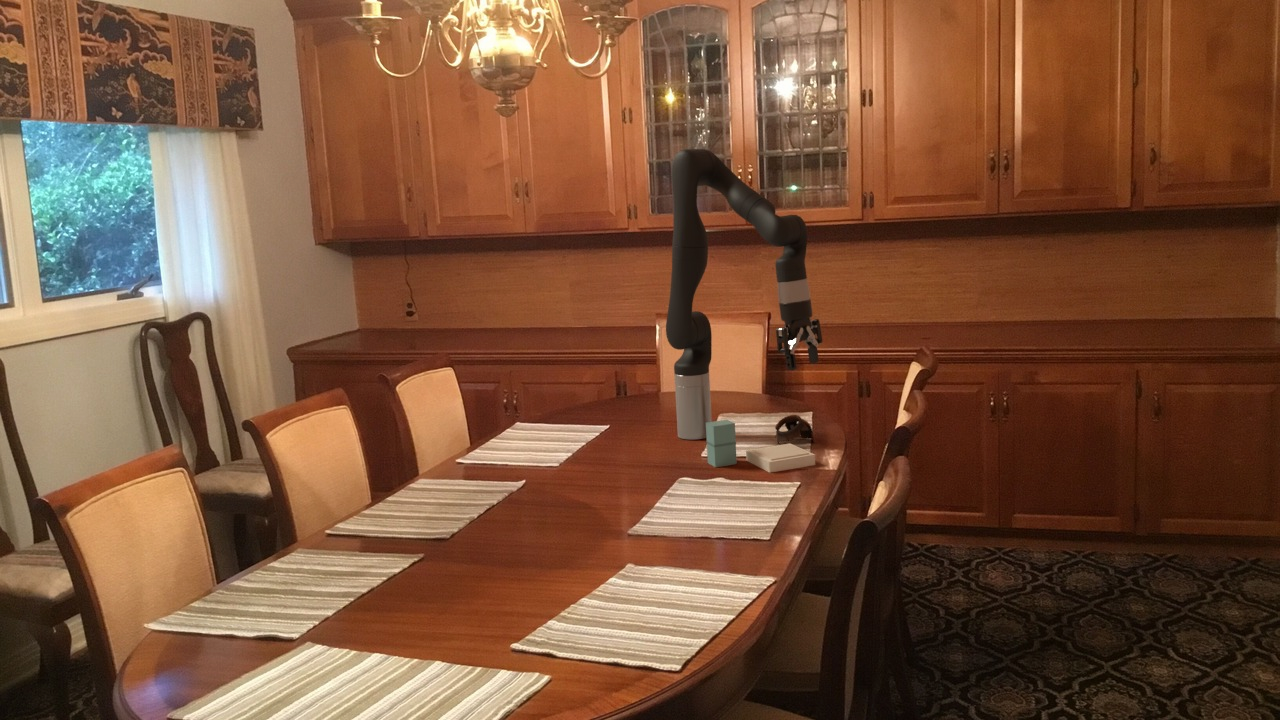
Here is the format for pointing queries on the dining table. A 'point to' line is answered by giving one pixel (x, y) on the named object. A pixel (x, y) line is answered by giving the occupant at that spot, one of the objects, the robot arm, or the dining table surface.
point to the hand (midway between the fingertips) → (803, 366)
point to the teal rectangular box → (721, 443)
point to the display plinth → (780, 457)
